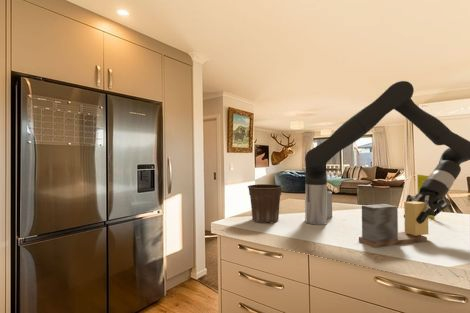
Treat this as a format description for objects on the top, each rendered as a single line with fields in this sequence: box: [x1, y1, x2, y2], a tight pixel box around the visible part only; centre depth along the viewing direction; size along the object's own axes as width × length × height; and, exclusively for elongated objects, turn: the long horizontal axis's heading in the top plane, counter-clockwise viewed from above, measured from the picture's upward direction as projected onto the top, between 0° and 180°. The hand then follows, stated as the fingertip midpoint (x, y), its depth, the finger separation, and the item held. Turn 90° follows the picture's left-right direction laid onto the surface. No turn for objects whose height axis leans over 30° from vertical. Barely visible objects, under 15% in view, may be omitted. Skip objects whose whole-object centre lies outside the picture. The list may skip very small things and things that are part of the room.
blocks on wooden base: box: [358, 203, 428, 249], centre depth 89 cm, size 22×7×12 cm, turn 106°
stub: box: [403, 201, 429, 236], centre depth 92 cm, size 6×4×11 cm, turn 106°
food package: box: [417, 174, 436, 220], centre depth 127 cm, size 15×1×20 cm, turn 168°
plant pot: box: [247, 183, 283, 224], centre depth 121 cm, size 16×16×16 cm
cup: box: [327, 190, 333, 219], centre depth 129 cm, size 9×9×12 cm
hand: (412, 220), depth 91 cm, fingers closed on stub, 4 cm apart
